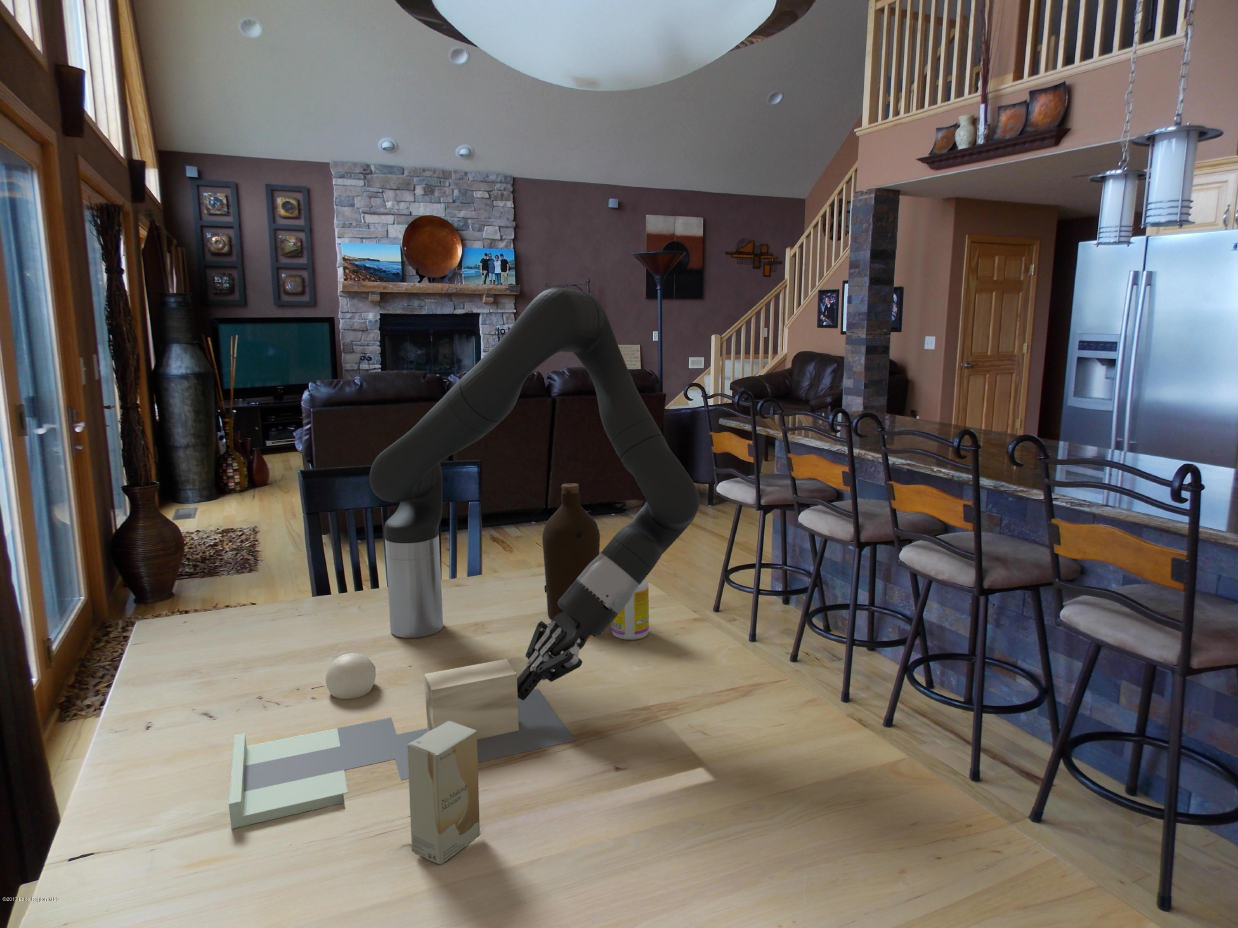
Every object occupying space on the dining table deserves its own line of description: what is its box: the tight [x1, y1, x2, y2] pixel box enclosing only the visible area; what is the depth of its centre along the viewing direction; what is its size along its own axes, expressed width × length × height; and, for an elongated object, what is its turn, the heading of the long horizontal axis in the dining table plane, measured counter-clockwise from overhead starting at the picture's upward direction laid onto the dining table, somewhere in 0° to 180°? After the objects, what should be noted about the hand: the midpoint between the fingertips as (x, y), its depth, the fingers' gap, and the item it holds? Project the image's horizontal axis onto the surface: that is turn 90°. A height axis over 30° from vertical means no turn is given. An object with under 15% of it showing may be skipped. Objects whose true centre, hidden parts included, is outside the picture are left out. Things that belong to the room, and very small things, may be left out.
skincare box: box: [407, 721, 481, 865], centre depth 83 cm, size 6×4×12 cm
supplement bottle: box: [610, 577, 650, 641], centre depth 139 cm, size 7×7×13 cm
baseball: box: [325, 652, 377, 700], centre depth 116 cm, size 7×7×7 cm
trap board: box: [228, 688, 577, 830], centre depth 101 cm, size 16×40×3 cm, turn 113°
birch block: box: [424, 658, 519, 739], centre depth 104 cm, size 5×11×8 cm, turn 114°
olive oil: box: [541, 482, 601, 621], centre depth 147 cm, size 11×11×25 cm
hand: (516, 694), depth 107 cm, fingers closed
